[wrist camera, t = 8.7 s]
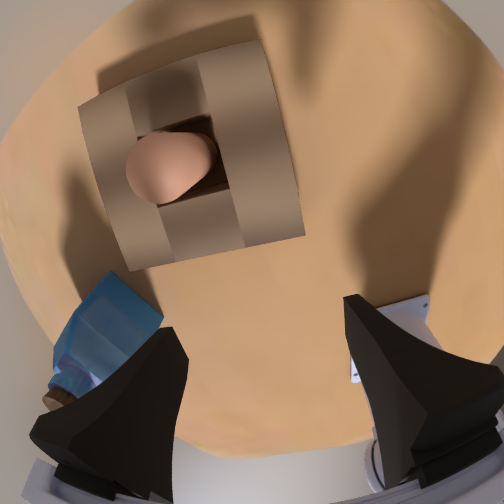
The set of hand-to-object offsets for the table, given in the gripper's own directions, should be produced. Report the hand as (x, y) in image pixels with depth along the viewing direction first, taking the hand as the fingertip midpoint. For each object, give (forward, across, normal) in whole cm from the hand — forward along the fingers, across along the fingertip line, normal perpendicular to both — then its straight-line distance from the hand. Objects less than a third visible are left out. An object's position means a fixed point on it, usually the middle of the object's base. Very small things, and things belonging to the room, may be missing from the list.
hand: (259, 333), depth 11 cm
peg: (+10, +3, -7) cm, 13 cm away
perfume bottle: (+10, +14, +4) cm, 18 cm away
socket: (+10, +3, -7) cm, 12 cm away
